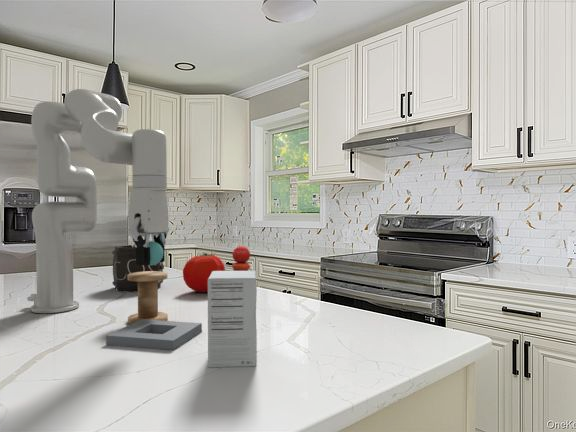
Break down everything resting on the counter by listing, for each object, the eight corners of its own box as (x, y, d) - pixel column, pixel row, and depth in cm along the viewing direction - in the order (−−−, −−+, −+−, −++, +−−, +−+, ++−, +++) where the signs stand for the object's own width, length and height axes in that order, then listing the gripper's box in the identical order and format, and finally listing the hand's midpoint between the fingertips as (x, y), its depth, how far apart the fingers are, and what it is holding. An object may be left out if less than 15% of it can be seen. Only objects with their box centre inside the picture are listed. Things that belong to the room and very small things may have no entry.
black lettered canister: (155, 292, 152) (155, 248, 152) (104, 292, 152) (104, 248, 152) (170, 283, 170) (169, 244, 170) (124, 283, 170) (124, 243, 170)
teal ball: (133, 266, 97) (133, 242, 97) (146, 263, 102) (146, 240, 102) (155, 267, 96) (155, 242, 96) (167, 264, 101) (167, 240, 101)
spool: (119, 324, 110) (119, 276, 110) (141, 315, 120) (141, 270, 120) (155, 327, 108) (154, 277, 108) (174, 317, 117) (174, 271, 117)
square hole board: (106, 344, 94) (106, 335, 94) (142, 327, 107) (142, 319, 107) (173, 350, 90) (173, 340, 90) (201, 331, 104) (201, 323, 104)
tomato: (217, 287, 163) (217, 250, 163) (232, 293, 151) (232, 254, 151) (176, 291, 155) (176, 253, 155) (188, 297, 143) (188, 256, 143)
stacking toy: (249, 314, 120) (249, 247, 120) (222, 313, 122) (222, 247, 121) (257, 308, 128) (257, 245, 127) (231, 307, 129) (231, 244, 129)
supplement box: (211, 351, 89) (211, 270, 89) (256, 350, 90) (256, 269, 90) (207, 368, 80) (206, 277, 80) (257, 366, 81) (256, 277, 80)
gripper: (155, 186, 108) (155, 259, 108) (111, 182, 91) (113, 267, 92) (182, 186, 106) (183, 259, 106) (143, 181, 90) (144, 268, 90)
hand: (150, 262), depth 99 cm, fingers closed on teal ball, 5 cm apart
